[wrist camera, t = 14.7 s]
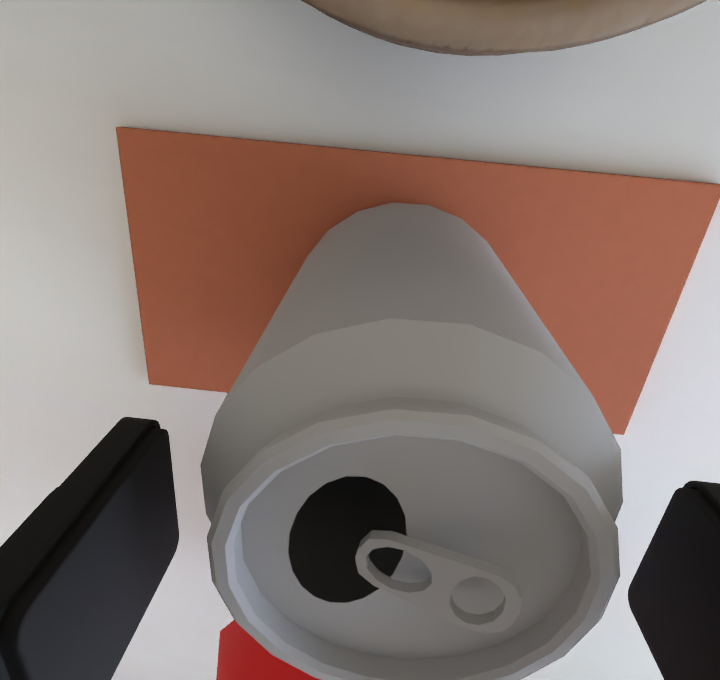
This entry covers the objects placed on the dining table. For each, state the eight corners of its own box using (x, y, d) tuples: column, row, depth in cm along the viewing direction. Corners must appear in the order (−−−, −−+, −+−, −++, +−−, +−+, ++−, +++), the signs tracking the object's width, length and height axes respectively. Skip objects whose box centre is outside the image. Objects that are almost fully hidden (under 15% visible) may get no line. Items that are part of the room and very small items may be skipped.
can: (318, 174, 16) (166, 313, 5) (533, 224, 16) (800, 454, 6) (286, 364, 19) (152, 686, 9) (465, 403, 20) (551, 763, 9)
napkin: (620, 430, 20) (624, 434, 20) (152, 380, 21) (148, 384, 20) (719, 184, 16) (725, 185, 15) (119, 126, 16) (115, 126, 16)
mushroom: (420, 630, 27) (438, 983, 16) (233, 568, 25) (115, 906, 15) (521, 500, 22) (642, 873, 11) (299, 417, 21) (200, 747, 10)
